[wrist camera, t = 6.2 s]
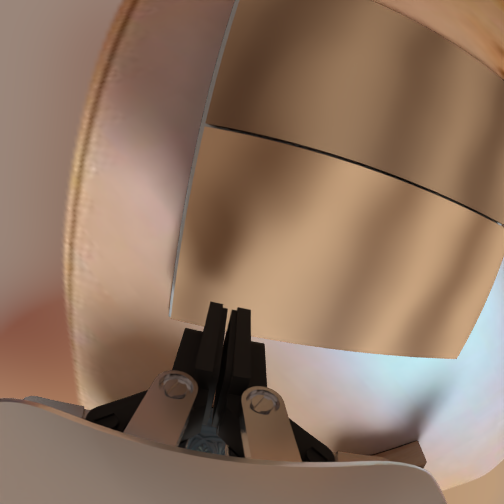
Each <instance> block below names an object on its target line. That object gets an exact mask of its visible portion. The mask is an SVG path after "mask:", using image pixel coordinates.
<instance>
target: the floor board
mask: <svg viewBox="0 0 504 504" xmlns="http://www.w3.org/2000/svg"><path fill="white" fill-rule="evenodd" d="M206 124H209V125H212V126H217V127H223V128H228V129H233V130H237V131H242V132H247V133H251V134H256V135H260V136H264V137H269V138H273V139H277V140H281V141H285V142H289V143H292V144H296V145H300V146H304V147H307V148H311V149H314V150H318V151H321V152H325V153H328V154H331V155H334V156H338V157H341V158H344V159H347V160H350V161H353V162H356V163H359V164H362V165H365V166H368V167H371V168H374V169H377V170H379V171H382V172H385V173H388V174H390V175H393V176H396V177H398V178H401V179H404V180H406V181H409V182H411V183H414V184H416V185H419V186H421V187H424V188H426V189H428V190H431V191H433V192H435V193H438V194H440V195H442V196H445V197H447V198H449V199H451V200H453V201H456V202H458V203H460V204H462V205H464V206H466V207H468V208H471V209H473V210H475V211H477V212H479V213H481V214H483V215H485V216H487V217H489V218H491V219H492V220H494V221H496V222H498V223H500V224H502V225H504V80H503V79H501V78H500V77H499V76H498V75H496V74H495V73H494V72H493V71H491V70H490V69H489V68H488V67H486V66H485V65H484V64H482V63H481V62H480V61H478V60H477V59H476V58H474V57H473V56H471V55H470V54H469V53H467V52H466V51H464V50H463V49H461V48H460V47H458V46H457V45H455V44H454V43H452V42H451V41H449V40H447V39H446V38H444V37H442V36H441V35H439V34H437V33H436V32H434V31H432V30H431V29H429V28H427V27H425V26H423V25H422V24H420V23H418V22H416V21H414V20H412V19H410V18H408V17H406V16H404V15H402V14H400V13H398V12H396V11H394V10H392V9H390V8H387V7H385V6H383V5H381V4H378V3H376V2H373V1H371V0H239V3H238V6H237V10H236V13H235V16H234V19H233V22H232V25H231V29H230V32H229V35H228V39H227V42H226V46H225V49H224V52H223V56H222V60H221V63H220V67H219V71H218V74H217V78H216V82H215V86H214V90H213V94H212V98H211V102H210V106H209V110H208V114H207V118H206Z"/></svg>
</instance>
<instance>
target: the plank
mask: <svg viewBox="0 0 504 504" xmlns="http://www.w3.org/2000/svg"><path fill="white" fill-rule="evenodd" d="M503 257H504V227H502V226H501V225H499V224H497V223H495V222H493V221H491V220H489V219H487V218H485V217H483V216H481V215H479V214H477V213H475V212H473V211H471V210H469V209H467V208H464V207H462V206H460V205H458V204H456V203H454V202H451V201H449V200H447V199H445V198H442V197H440V196H438V195H435V194H433V193H431V192H428V191H426V190H423V189H421V188H419V187H416V186H414V185H411V184H408V183H406V182H403V181H401V180H398V179H395V178H393V177H390V176H387V175H385V174H382V173H379V172H376V171H373V170H370V169H368V168H365V167H362V166H359V165H356V164H353V163H350V162H346V161H343V160H340V159H337V158H334V157H330V156H327V155H324V154H320V153H317V152H313V151H310V150H306V149H303V148H299V147H295V146H291V145H288V144H284V143H280V142H276V141H272V140H268V139H263V138H259V137H255V136H250V135H246V134H241V133H236V132H231V131H226V130H221V129H216V128H211V127H204V131H203V136H202V140H201V144H200V149H199V153H198V158H197V163H196V167H195V172H194V177H193V182H192V187H191V192H190V197H189V203H188V208H187V213H186V219H185V225H184V230H183V236H182V242H181V248H180V255H179V261H178V268H177V275H176V282H175V289H174V296H173V304H172V312H171V319H174V320H178V321H182V322H186V323H191V324H195V325H200V326H205V322H206V318H207V314H208V309H209V305H210V301H211V302H216V303H220V304H223V308H227V309H228V312H227V319H226V327H225V331H227V328H228V323H229V319H230V315H231V311H232V310H237V308H238V307H240V308H245V309H250V310H251V336H253V337H259V338H264V339H270V340H276V341H282V342H288V343H294V344H301V345H308V346H315V347H322V348H329V349H337V350H345V351H354V352H363V353H373V354H383V355H395V356H408V357H424V358H445V359H457V357H458V355H459V354H460V352H461V350H462V348H463V346H464V345H465V343H466V341H467V339H468V337H469V335H470V333H471V331H472V330H473V328H474V326H475V324H476V322H477V319H478V317H479V315H480V313H481V311H482V309H483V307H484V304H485V302H486V300H487V298H488V295H489V293H490V291H491V288H492V286H493V283H494V281H495V278H496V276H497V273H498V270H499V268H500V265H501V262H502V259H503Z"/></svg>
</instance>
